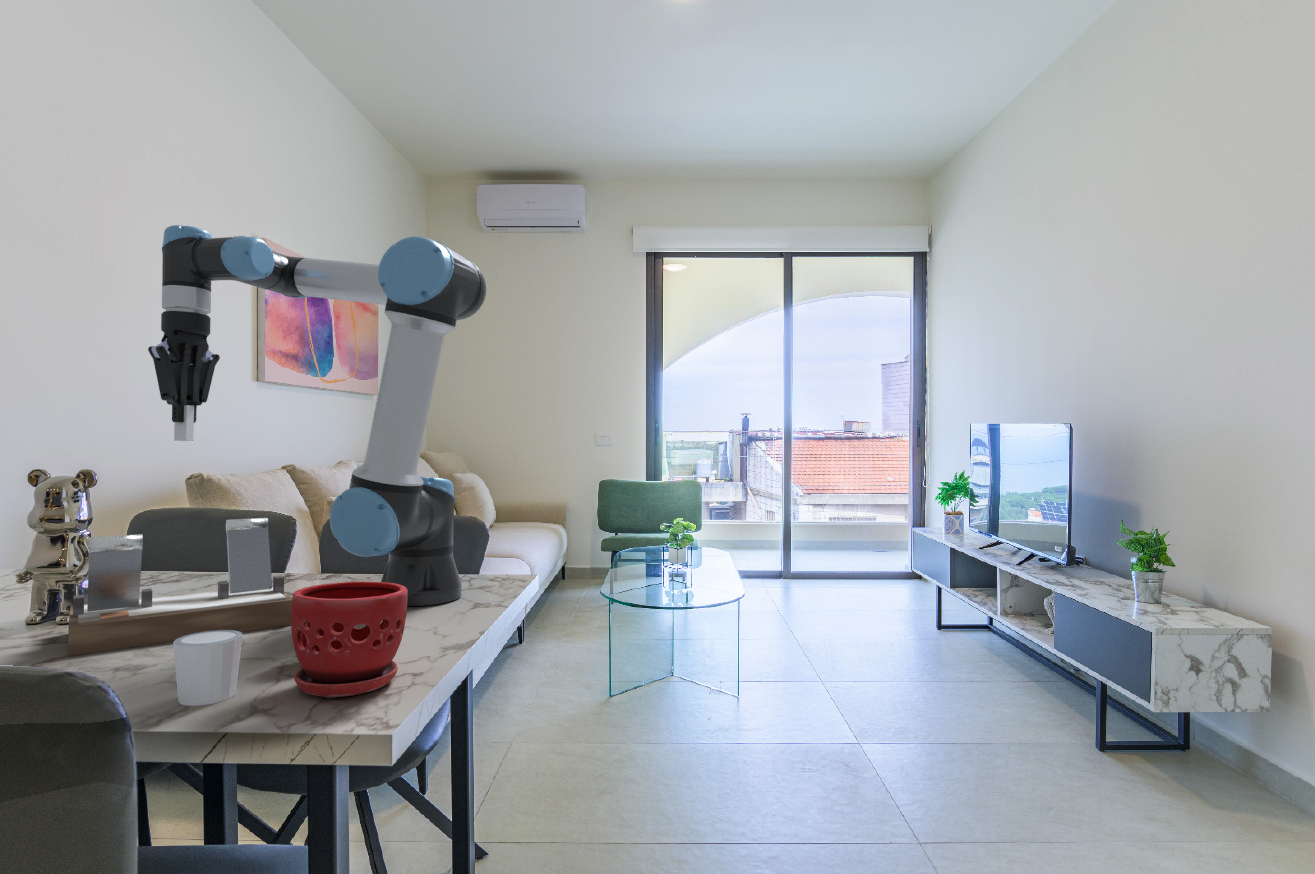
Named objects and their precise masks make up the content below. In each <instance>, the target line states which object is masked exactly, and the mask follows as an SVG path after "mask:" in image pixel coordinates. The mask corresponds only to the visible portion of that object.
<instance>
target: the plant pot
mask: <svg viewBox="0 0 1315 874" xmlns="http://www.w3.org/2000/svg"><path fill="white" fill-rule="evenodd" d="M407 596H408V590H407V588H406V587H404V586H402V585H399V584H394V583H386V582H381V581H342V582H332V583H322V584H315V585H311V586H305V587H303V588H300V589H297V590H295V591H294V592H293V594H292V596H291V597H292V606H291V625H290V629H291V638H292V645H293V649H294V653H295V655H296V659H297V661H298V662H299V665H300V667H301V668H300V669H299V670H298V671H296V672H295V675H294V683H295V684H296V686H297V687H298V688H299V689H300V690H302V692H305V693H306V694H309V695H313V696H316V697H317V696H318V697H326V699H331V700H332V699H335V698H341V697H343V698H344V697H351V696H357V695H361V694H366V693H370V692H372V691H375V690H378V689H380V688H382V687H384V686H385V685H387V684H389V683H390V682H391V681H392V680H393V679H394V677H395V676H396V674H397V673H398V669H399V668H398V664H397V663H396V662H395V661H393V659H395V656H396V655H397V652H398V650H399V648H400V645H401V642H402V640H403V635H404V632H405V626H406V619H407V610H408V606H407ZM359 625H364V626H362V627H360V628H358V627H357V626H359Z"/></svg>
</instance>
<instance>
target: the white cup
mask: <svg viewBox="0 0 1315 874" xmlns="http://www.w3.org/2000/svg"><path fill="white" fill-rule="evenodd" d="M243 638H244V633H243V632H240V631H233V630H216V631H205V632H199V633H194V634H190V635H186V636H183V637H180V638H178V639H176V640H175V641H172V644H173V655H174V657H173V658H174V667H175V668H174V669H175V677H176V688H177V689H176V690H177V699H178V700H177V701H178V703H179V704H180V705H182V706H186V707H187V706H188V707H196V706H197V707H199V706H207V705H209V706H210V705H212V704H217V703H221V702H224V701H226V700H230V699H231V698H233V696H235V694H236V692H237V687H238V686H237V684H238V677H239V676H238V675H239V668H240V660H241V654H242V653H241V652H242V644H243Z"/></svg>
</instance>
